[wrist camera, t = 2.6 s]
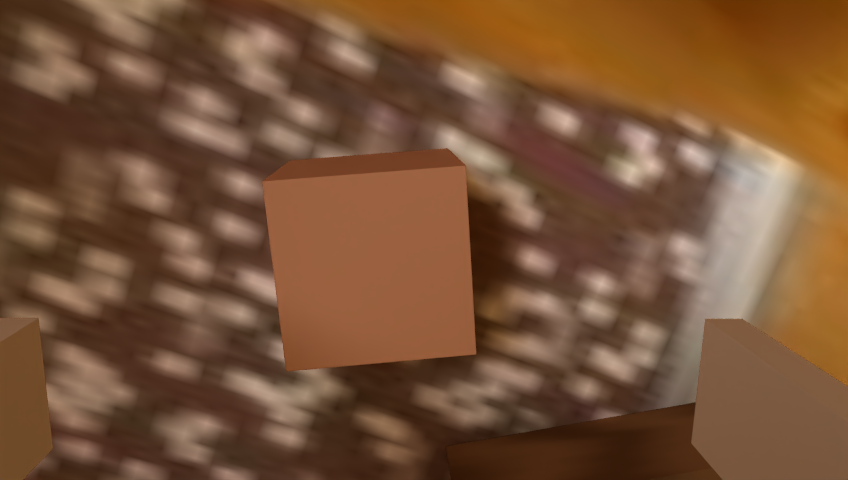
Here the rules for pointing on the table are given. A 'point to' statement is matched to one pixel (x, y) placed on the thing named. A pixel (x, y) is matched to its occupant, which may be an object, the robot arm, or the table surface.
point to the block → (371, 258)
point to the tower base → (590, 451)
